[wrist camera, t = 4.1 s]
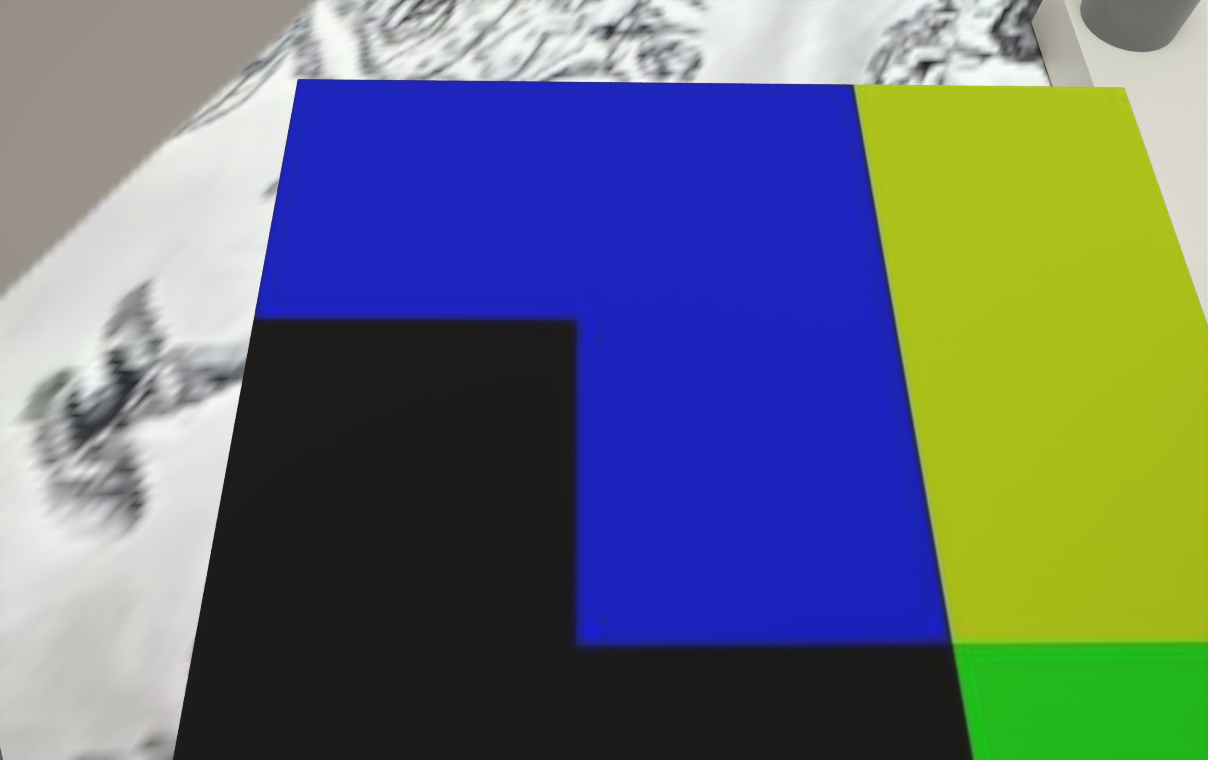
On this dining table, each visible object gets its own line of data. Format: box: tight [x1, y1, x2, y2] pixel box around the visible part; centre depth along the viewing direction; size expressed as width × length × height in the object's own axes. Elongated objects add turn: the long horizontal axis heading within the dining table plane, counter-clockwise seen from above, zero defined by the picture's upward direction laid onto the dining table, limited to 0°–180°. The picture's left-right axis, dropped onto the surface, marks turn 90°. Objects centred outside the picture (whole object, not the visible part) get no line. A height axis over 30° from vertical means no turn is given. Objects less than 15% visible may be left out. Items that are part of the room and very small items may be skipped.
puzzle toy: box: [173, 79, 1208, 760], centre depth 14 cm, size 10×10×10 cm
